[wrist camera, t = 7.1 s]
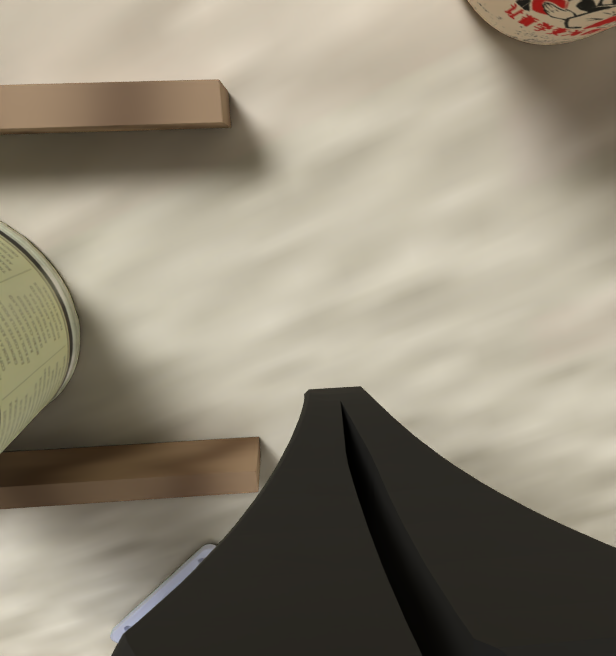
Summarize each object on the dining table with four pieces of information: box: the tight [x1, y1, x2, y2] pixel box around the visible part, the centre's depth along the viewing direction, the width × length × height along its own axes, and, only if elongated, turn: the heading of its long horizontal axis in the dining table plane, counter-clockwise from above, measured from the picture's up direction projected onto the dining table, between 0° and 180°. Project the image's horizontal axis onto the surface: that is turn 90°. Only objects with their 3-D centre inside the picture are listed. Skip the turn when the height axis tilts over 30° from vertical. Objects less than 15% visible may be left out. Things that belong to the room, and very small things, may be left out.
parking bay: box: [0, 79, 261, 509], centre depth 17 cm, size 19×16×3 cm
